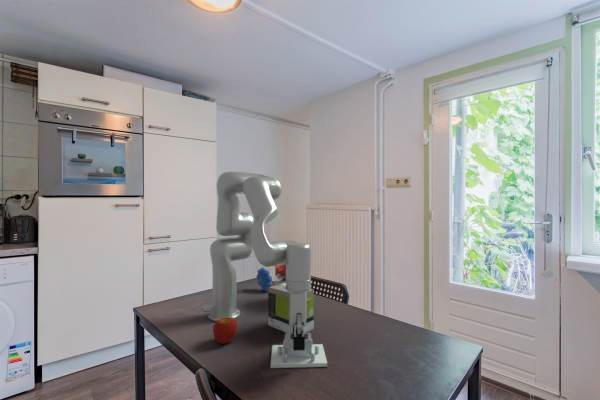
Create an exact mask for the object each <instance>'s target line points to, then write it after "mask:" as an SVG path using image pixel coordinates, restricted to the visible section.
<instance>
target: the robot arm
mask: <svg viewBox="0 0 600 400" xmlns="http://www.w3.org/2000/svg"><path fill="white" fill-rule="evenodd" d="M217 178H218V179H217V181H216V192H217V193H216V194H217V199H218V204H217V214H216V215H217V216H216V226H215V229H216V232H217V234H218V235H220V236H224V237H225V238H219V239H216V240H214V241H213V242H212V243H211V244H210V247H209V249H210V250H209V253H210V260H211V267H212V299H211V301H212V304H210V305H202V307H201V311H203V313H207V312H208V319H209V320H210V321H213V322H216V321H218V320H219V319H221V318H225V317H229V318H233V319H235V320H236V319H238V318H239V317H240V316H241V310H240V309H238V308H237V269H236V268H235V267H234V265H233V264H232V262H233V261H234V262H235V261H239V260H240V261H241V260H245V259H248V258H249V257H250V256H251V254H252V251H253V253H254V255H255V258H256V259H257V262H258V263H259V264H260V265H261V266H263V267H264V268H265V267H275V266H276V265H281V264H286V291H288V292H289V326H290V327H293V333H294V335H293V350H304V349H305V335H304V327H305V326H306V315H307V292H309V291H310V290H311V289H312V286H311V285H312V284H311V283H312V280H311V279H312V274H311V273H312V272H311V271H312V269H311V267H312V263H311V261H312V250H311V246H310V245H309V244H308V243H303V242H296V241H295V240H292V239H284V240H273V241H268V239H267V238H268V237H266V234H265V230H264V227H265V225H266V224H268V223H270V222H272V221H273V220H274V219H275V218H276V217H277V216H278V214H279V213H278V212H279V210H278V207H277V205H276V202H275V201H274V200H277V199H279V198H280V197H281V194H282V185H281V183H280V181H279V180H278V179H276V178H275V177H272V176H269V175H264V174H262V173H261V174H260V173H252V172H242V171H226V172H223V173H221V174H220V175H219V176H218V177H217ZM238 195H244V196H245V198H246V200H247V203H248V206H249V208H250V211H251V213H252V214H251V213H249V212H245V211H243V212H242V211H240V209H241V208H240V207H241V203H240V202H241V201H240V198H239V197H238ZM231 236H232V237H231ZM233 236H235V237H233ZM236 236H238V237H236Z"/></svg>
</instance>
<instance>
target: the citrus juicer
mask: <svg viewBox="0 0 600 400" xmlns="http://www.w3.org/2000/svg"><path fill="white" fill-rule="evenodd" d="M274 275H275V276H274V278H273V279H274V286H275V285H279V284H283V283H286V264H281V265H276V266H274Z"/></svg>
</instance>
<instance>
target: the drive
mask: <svg viewBox="0 0 600 400" xmlns="http://www.w3.org/2000/svg"><path fill="white" fill-rule="evenodd" d="M293 335H294V333H286V332H284V338H283V340H284V353H286V354H287V358H311V353H312V344H313V338H312V333H311V332H306V333H304V335H305V349H304V350H293Z"/></svg>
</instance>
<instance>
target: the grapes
mask: <svg viewBox="0 0 600 400" xmlns="http://www.w3.org/2000/svg"><path fill="white" fill-rule="evenodd" d="M256 280H257V284H258V286H259V287H261V288H260V289H261V290H262V291H263V292H264V291H267V292H268V287H271V286H273V282H272V280H273V277H272V276H271V275H270V271H269V270H268V269H265V267H264V266H263V267H261V268H259V269H258V270H257V275H256Z"/></svg>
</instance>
